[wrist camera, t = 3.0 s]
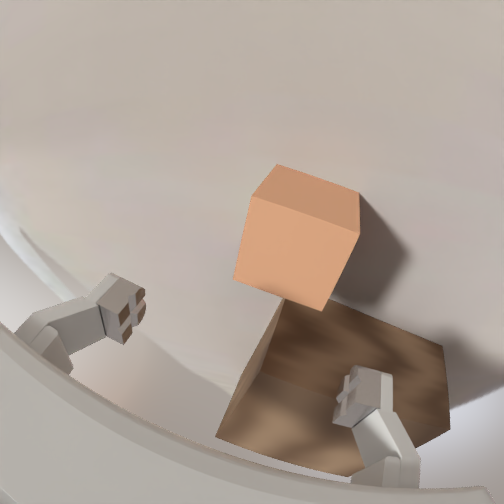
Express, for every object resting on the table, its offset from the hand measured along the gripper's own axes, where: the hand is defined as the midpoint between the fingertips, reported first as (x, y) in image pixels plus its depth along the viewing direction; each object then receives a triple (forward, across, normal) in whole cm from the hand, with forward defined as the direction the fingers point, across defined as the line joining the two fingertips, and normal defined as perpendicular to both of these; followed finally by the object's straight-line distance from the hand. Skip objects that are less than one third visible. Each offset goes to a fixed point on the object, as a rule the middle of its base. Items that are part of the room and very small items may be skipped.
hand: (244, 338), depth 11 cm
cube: (+10, -1, 0) cm, 10 cm away
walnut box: (+10, -8, +13) cm, 18 cm away
